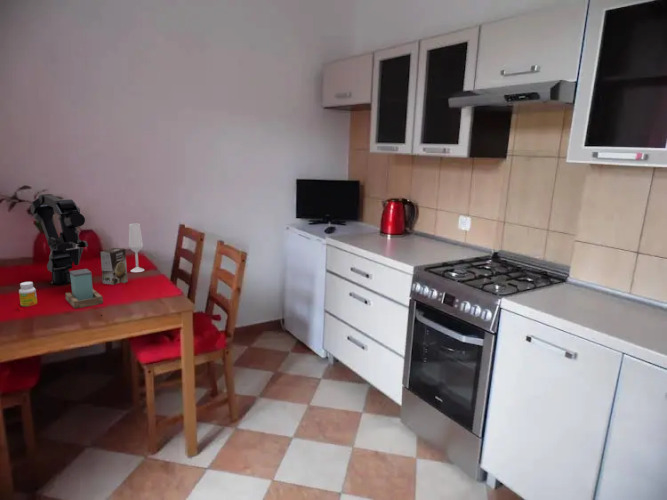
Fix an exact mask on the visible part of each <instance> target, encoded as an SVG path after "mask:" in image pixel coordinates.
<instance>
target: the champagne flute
mask: <svg viewBox="0 0 667 500" xmlns="http://www.w3.org/2000/svg"><path fill="white" fill-rule="evenodd" d="M142 237H143V236H142V230H141V225H140V223H137V222H135V223H130V224H129V225H128V247H129V249H130V250H131V251H132V252H134V255H135V256H134V257H135V258H134V259H135V267H134V268H132V269H130V272H131V273H141V272H144V271H145V269H144V268H143V267H140V266H139V255H138V254H139V252H140V251H141V250H142V248H143V247H144V242H143V238H142Z"/></svg>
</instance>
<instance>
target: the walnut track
mask: <svg viewBox="0 0 667 500" xmlns="http://www.w3.org/2000/svg"><path fill="white" fill-rule="evenodd" d="M64 296H65V300H66V301H67V303H68V304H70V306H71V307H72V308H74V309H75V310H76V309H82V308H86V307H87V308H88V307H91V306H92V307H93V306H97V305H101V304H102V305H103V304H104V298H103V295H102V294H100V293H99V292H97V291H96V290H95V289H94V288H93V298H91V299H85V300H80V301H78V300H77V299H76V298H75V297H74V296H73V295H72V292H70V291H69V292H65V295H64Z"/></svg>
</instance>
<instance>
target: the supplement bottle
mask: <svg viewBox="0 0 667 500" xmlns="http://www.w3.org/2000/svg"><path fill="white" fill-rule="evenodd" d="M19 286H20V289H18V294H19V302H20V306H21V307H31V306H36V305H37V304H38V297H37V289H36V288H35V287H34V283H33V281H24V282H21V283H19Z"/></svg>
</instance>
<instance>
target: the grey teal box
mask: <svg viewBox="0 0 667 500" xmlns="http://www.w3.org/2000/svg"><path fill="white" fill-rule="evenodd" d="M69 272H70V277H71V282H70V285H71V294H72V295H73V296H74V297H75V298H76V299H77V300H78V301H80V300H85V299H91V298H93V289H94V288H93V287H94V286H93V278H92V276H93V275H92V271H91V270H89V269H88V268H83V269H76V270H69Z"/></svg>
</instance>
